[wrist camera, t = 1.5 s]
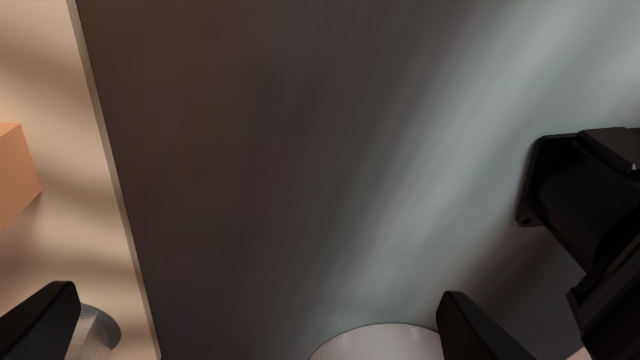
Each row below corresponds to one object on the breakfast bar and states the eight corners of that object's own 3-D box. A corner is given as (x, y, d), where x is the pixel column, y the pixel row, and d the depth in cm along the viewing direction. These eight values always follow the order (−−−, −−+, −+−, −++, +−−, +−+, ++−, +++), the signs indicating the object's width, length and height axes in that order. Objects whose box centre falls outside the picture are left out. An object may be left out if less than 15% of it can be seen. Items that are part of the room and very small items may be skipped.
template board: (161, 356, 31) (158, 365, 30) (28, 358, 30) (21, 369, 30) (23, -214, 14) (8, -222, 13) (-301, -249, 13) (-335, -259, 12)
